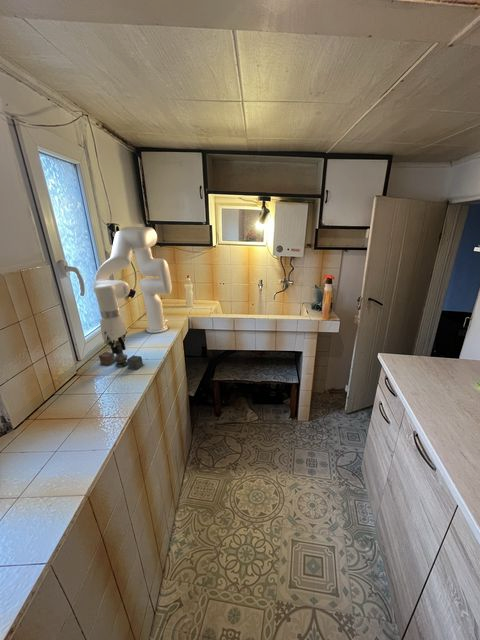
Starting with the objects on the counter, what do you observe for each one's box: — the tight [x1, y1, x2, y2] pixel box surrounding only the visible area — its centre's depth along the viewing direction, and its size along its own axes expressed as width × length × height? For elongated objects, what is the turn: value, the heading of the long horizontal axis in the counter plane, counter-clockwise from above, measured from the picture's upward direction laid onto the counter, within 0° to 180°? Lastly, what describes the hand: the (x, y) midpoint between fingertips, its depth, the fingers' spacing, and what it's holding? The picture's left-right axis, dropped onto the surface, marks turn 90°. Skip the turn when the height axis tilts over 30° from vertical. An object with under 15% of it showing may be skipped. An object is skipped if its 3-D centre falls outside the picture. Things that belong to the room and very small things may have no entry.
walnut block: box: [98, 351, 116, 366], centre depth 132 cm, size 4×4×4 cm
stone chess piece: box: [114, 340, 128, 368], centre depth 129 cm, size 6×6×12 cm
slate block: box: [126, 355, 144, 370], centre depth 129 cm, size 4×4×4 cm
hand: (119, 351), depth 129 cm, fingers closed on stone chess piece, 3 cm apart
